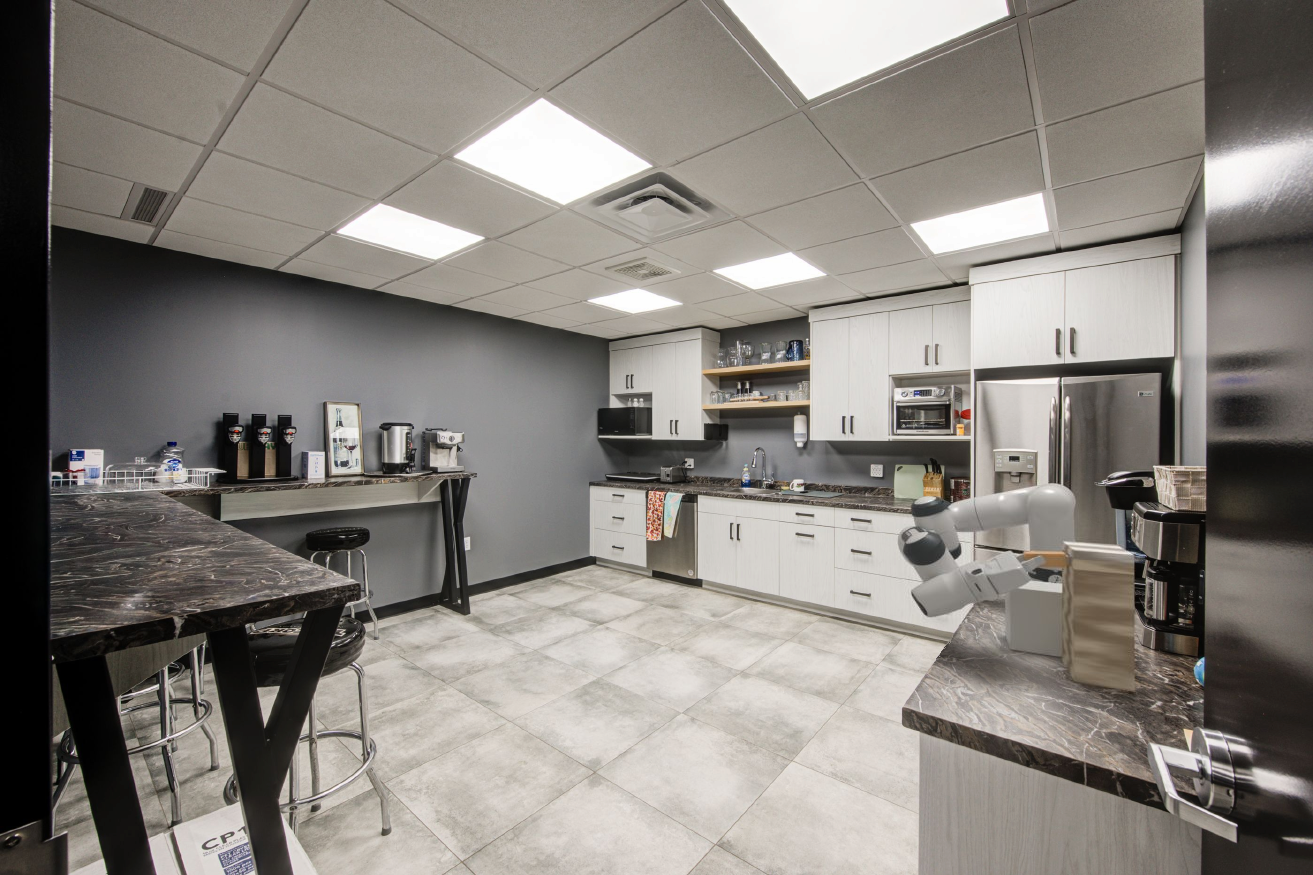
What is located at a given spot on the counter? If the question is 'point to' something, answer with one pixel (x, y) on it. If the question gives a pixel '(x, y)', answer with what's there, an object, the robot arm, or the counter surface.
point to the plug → (1049, 558)
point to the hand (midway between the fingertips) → (1041, 555)
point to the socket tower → (1098, 615)
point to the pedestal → (1035, 618)
